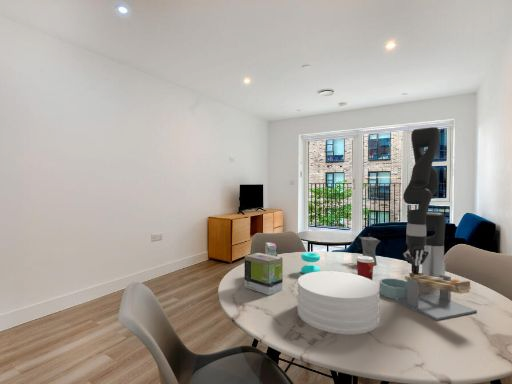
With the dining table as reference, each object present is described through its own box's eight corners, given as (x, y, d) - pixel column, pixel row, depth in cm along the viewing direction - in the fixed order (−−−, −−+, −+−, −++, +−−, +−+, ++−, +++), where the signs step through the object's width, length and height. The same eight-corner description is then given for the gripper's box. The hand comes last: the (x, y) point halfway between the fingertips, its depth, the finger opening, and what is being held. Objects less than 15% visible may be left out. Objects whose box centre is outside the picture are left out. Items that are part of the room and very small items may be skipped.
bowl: (395, 287, 127) (395, 277, 127) (418, 297, 115) (418, 286, 115) (373, 290, 123) (373, 280, 123) (395, 301, 111) (395, 289, 111)
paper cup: (375, 292, 121) (376, 260, 121) (357, 290, 122) (357, 259, 122) (372, 285, 128) (372, 255, 128) (354, 284, 130) (354, 255, 130)
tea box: (283, 289, 123) (283, 256, 123) (268, 296, 116) (268, 261, 116) (258, 282, 134) (258, 251, 133) (243, 287, 126) (243, 255, 126)
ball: (455, 287, 96) (453, 278, 96) (464, 288, 93) (462, 278, 94) (449, 288, 95) (447, 279, 95) (457, 289, 92) (455, 279, 93)
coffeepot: (383, 264, 165) (383, 234, 165) (376, 267, 158) (376, 236, 158) (358, 259, 176) (358, 231, 176) (351, 262, 169) (351, 233, 169)
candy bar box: (277, 279, 138) (277, 246, 138) (267, 279, 137) (267, 246, 137) (274, 272, 149) (274, 242, 149) (264, 272, 148) (264, 242, 148)
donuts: (297, 253, 149) (310, 251, 155) (297, 272, 149) (310, 269, 155) (310, 257, 141) (324, 254, 147) (310, 277, 141) (324, 273, 147)
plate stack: (293, 298, 114) (293, 270, 114) (362, 299, 113) (362, 271, 113) (303, 334, 86) (303, 297, 86) (394, 335, 85) (394, 298, 85)
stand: (396, 301, 111) (396, 275, 111) (433, 295, 117) (434, 270, 117) (436, 320, 95) (436, 290, 95) (476, 312, 101) (477, 284, 101)
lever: (388, 278, 119) (387, 269, 119) (416, 275, 124) (415, 266, 124) (459, 294, 90) (457, 282, 91) (491, 289, 95) (490, 278, 96)
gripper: (420, 231, 126) (419, 269, 127) (397, 233, 122) (396, 272, 123) (435, 234, 119) (434, 274, 120) (412, 236, 115) (410, 277, 115)
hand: (415, 273), depth 121 cm, fingers closed
